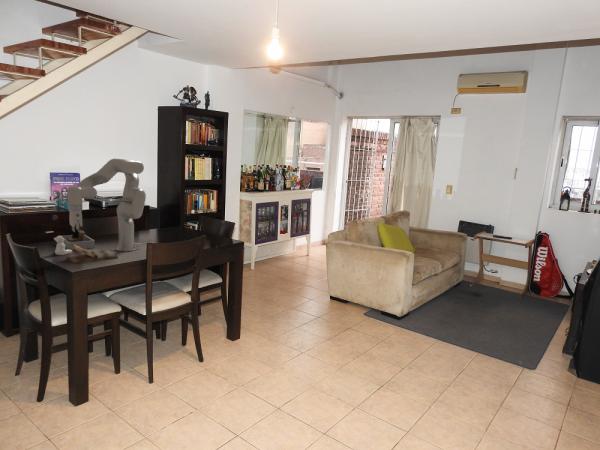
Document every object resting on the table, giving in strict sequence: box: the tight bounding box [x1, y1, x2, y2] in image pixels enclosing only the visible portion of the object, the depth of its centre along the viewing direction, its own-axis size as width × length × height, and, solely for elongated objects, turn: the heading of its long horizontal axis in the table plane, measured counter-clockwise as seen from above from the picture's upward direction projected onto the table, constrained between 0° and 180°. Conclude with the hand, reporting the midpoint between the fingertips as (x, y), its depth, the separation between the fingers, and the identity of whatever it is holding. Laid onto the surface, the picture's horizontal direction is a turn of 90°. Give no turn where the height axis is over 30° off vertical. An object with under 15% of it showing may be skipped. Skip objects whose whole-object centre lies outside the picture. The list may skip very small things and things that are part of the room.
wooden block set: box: [67, 229, 86, 242], centre depth 293 cm, size 18×9×10 cm, turn 152°
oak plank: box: [71, 244, 95, 257], centre depth 260 cm, size 11×12×2 cm
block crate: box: [61, 234, 96, 251], centre depth 293 cm, size 16×24×5 cm, turn 41°
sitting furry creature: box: [53, 235, 73, 256], centre depth 268 cm, size 10×9×12 cm
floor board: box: [67, 248, 119, 264], centre depth 264 cm, size 25×14×3 cm, turn 132°
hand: (75, 238), depth 255 cm, fingers closed
